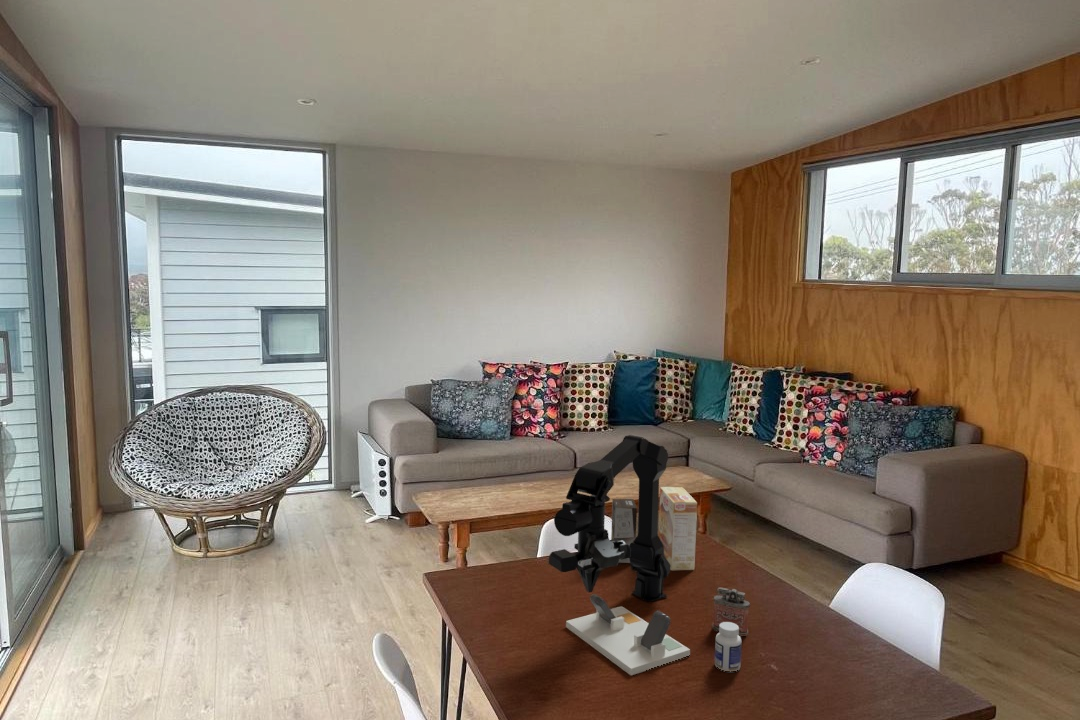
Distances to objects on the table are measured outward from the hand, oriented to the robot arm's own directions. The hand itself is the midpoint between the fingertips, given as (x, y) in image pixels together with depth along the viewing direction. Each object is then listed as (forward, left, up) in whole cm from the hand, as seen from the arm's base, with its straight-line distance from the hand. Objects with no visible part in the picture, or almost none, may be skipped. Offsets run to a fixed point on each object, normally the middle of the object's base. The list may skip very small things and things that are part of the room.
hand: (589, 591), depth 169 cm
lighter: (-30, +14, -11) cm, 35 cm away
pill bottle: (-18, +25, -11) cm, 33 cm away
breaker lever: (-6, 0, -8) cm, 10 cm away
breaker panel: (-6, +6, -10) cm, 14 cm away
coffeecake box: (-48, -25, -11) cm, 55 cm away
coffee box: (-36, -34, -11) cm, 51 cm away
